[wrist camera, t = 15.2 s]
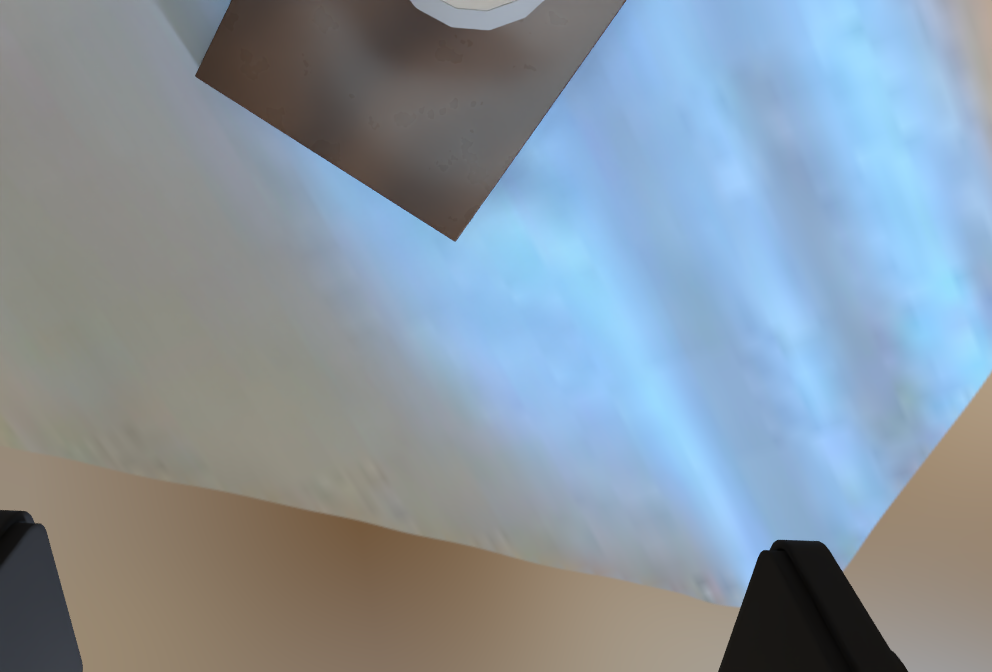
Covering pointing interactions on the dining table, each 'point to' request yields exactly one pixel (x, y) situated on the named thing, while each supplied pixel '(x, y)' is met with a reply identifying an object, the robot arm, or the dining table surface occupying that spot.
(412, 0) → the white cup
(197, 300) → the dining table surface
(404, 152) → the board
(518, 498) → the dining table surface
